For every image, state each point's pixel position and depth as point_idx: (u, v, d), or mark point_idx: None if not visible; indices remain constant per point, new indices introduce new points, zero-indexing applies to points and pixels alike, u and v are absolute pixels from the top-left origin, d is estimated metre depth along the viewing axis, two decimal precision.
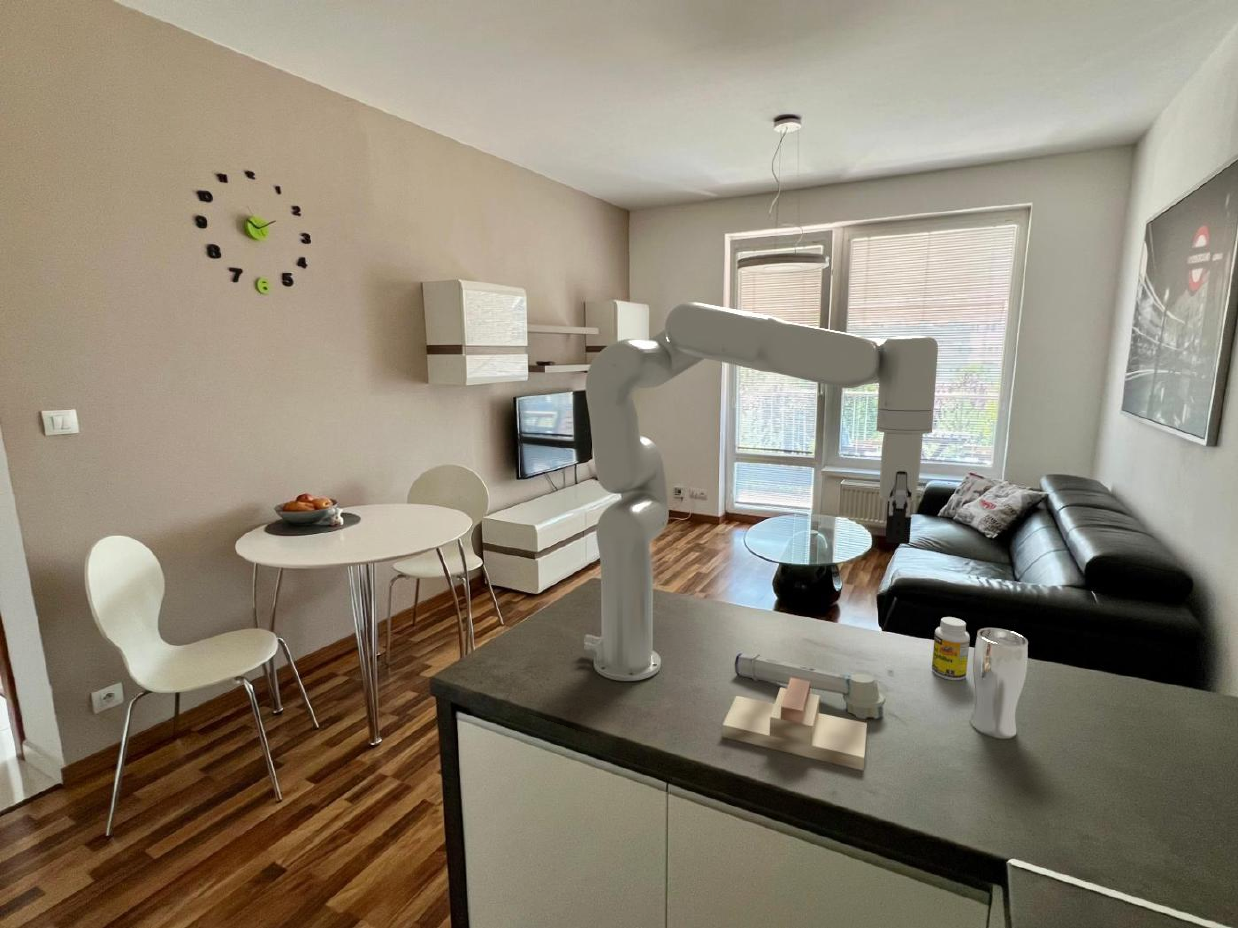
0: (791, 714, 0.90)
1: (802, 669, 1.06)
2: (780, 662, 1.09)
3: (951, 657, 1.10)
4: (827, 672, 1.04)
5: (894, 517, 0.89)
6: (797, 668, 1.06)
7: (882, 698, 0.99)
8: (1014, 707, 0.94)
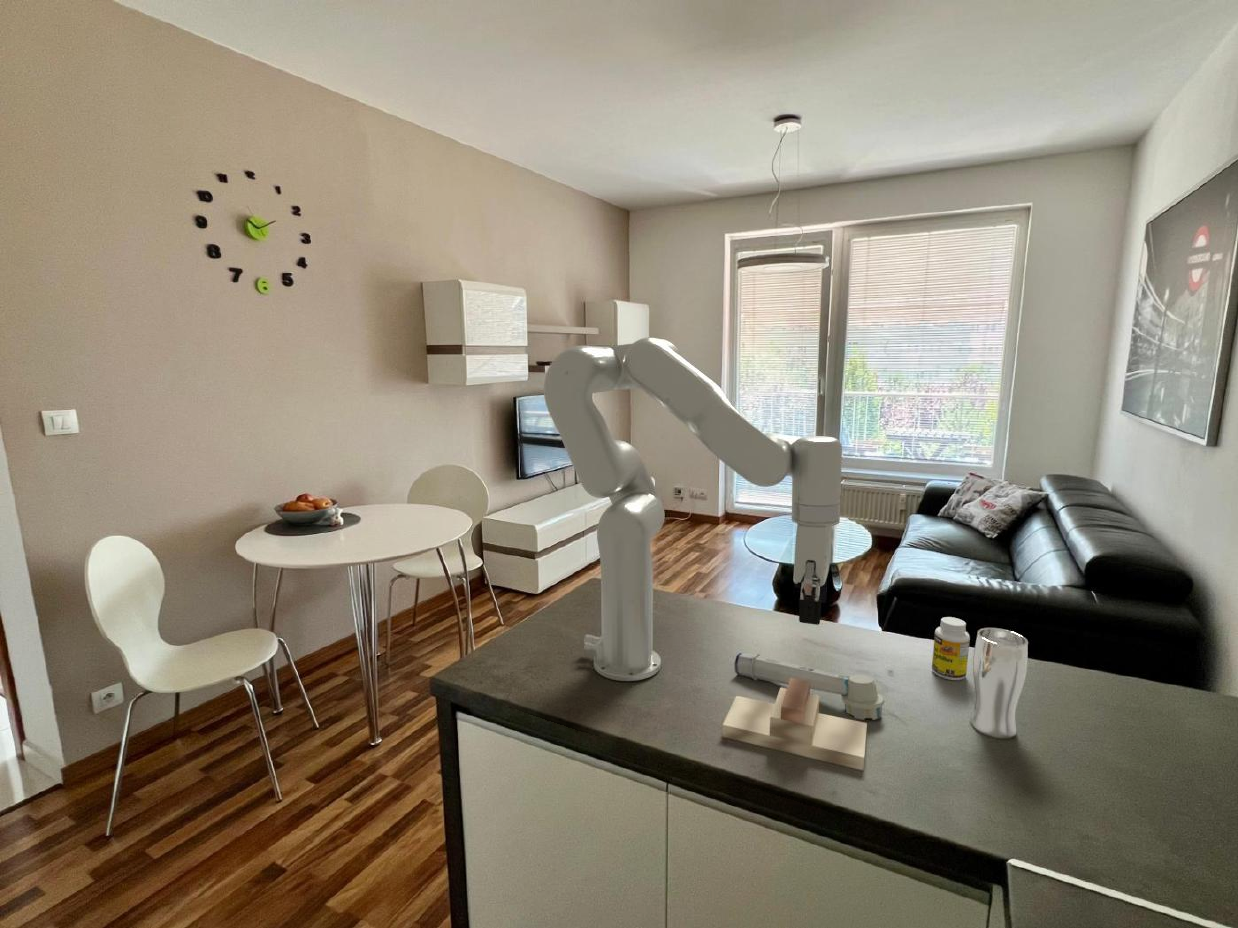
0: (791, 714, 0.90)
1: (801, 669, 1.06)
2: (780, 662, 1.09)
3: (951, 657, 1.10)
4: (826, 672, 1.04)
5: (805, 601, 0.99)
6: (796, 668, 1.06)
7: (881, 699, 0.99)
8: (1014, 707, 0.94)
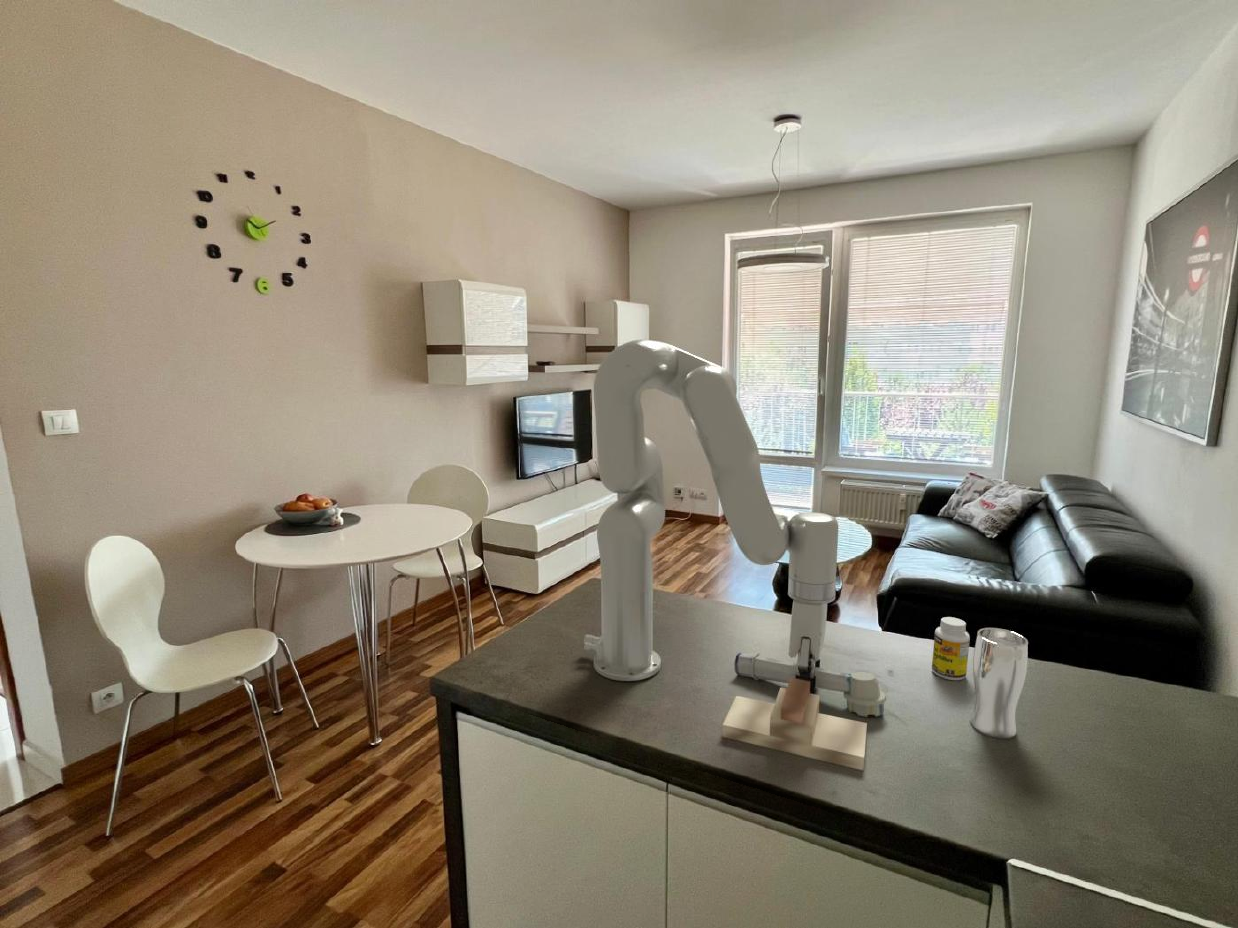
0: (791, 714, 0.90)
1: None
2: (780, 661, 1.09)
3: (951, 657, 1.10)
4: (828, 670, 1.04)
5: (801, 677, 1.02)
6: None
7: (883, 696, 1.00)
8: (1014, 707, 0.94)
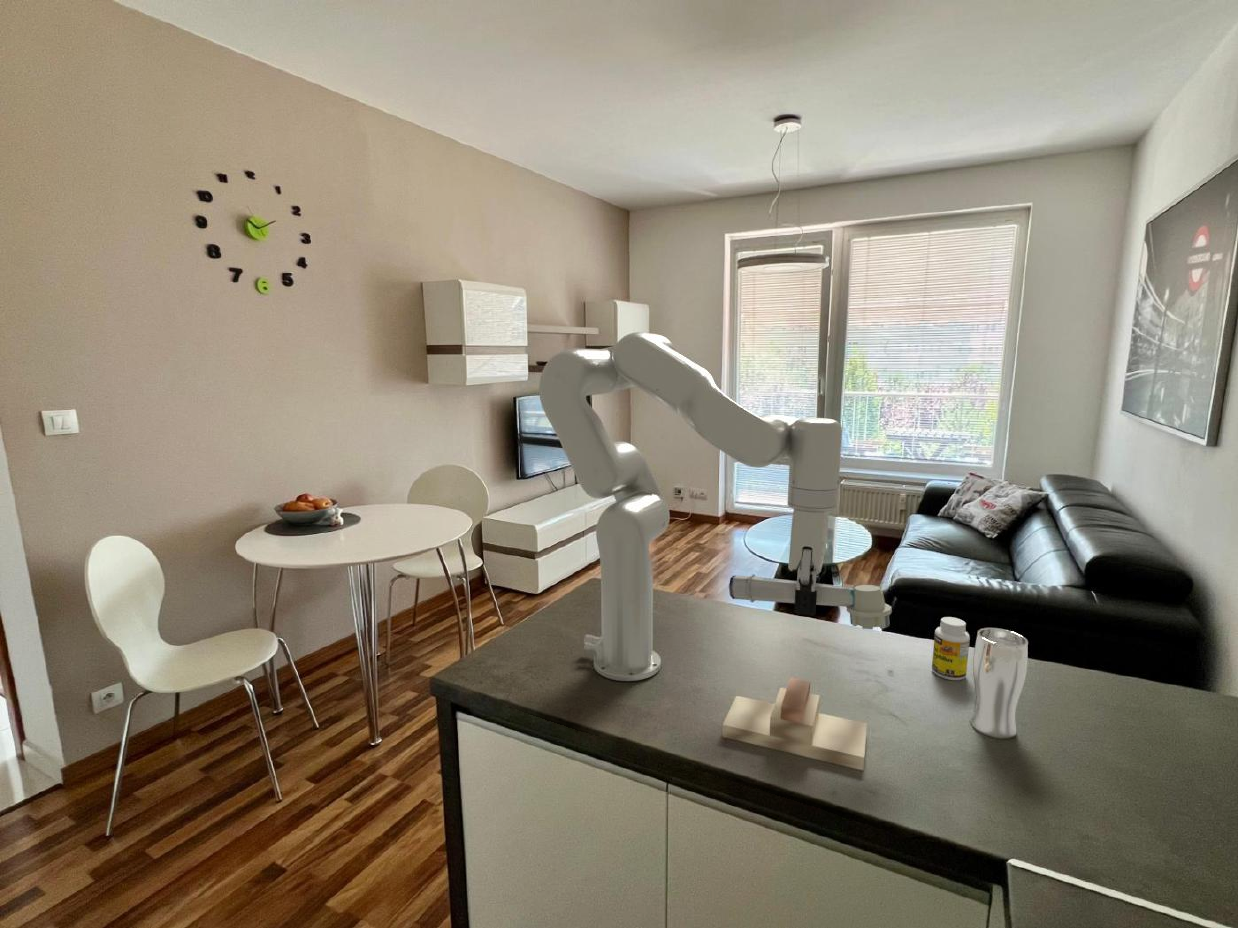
0: (791, 714, 0.90)
1: None
2: (778, 580, 1.03)
3: (951, 657, 1.10)
4: (829, 585, 0.98)
5: (801, 591, 0.96)
6: None
7: (888, 607, 0.94)
8: (1014, 707, 0.94)
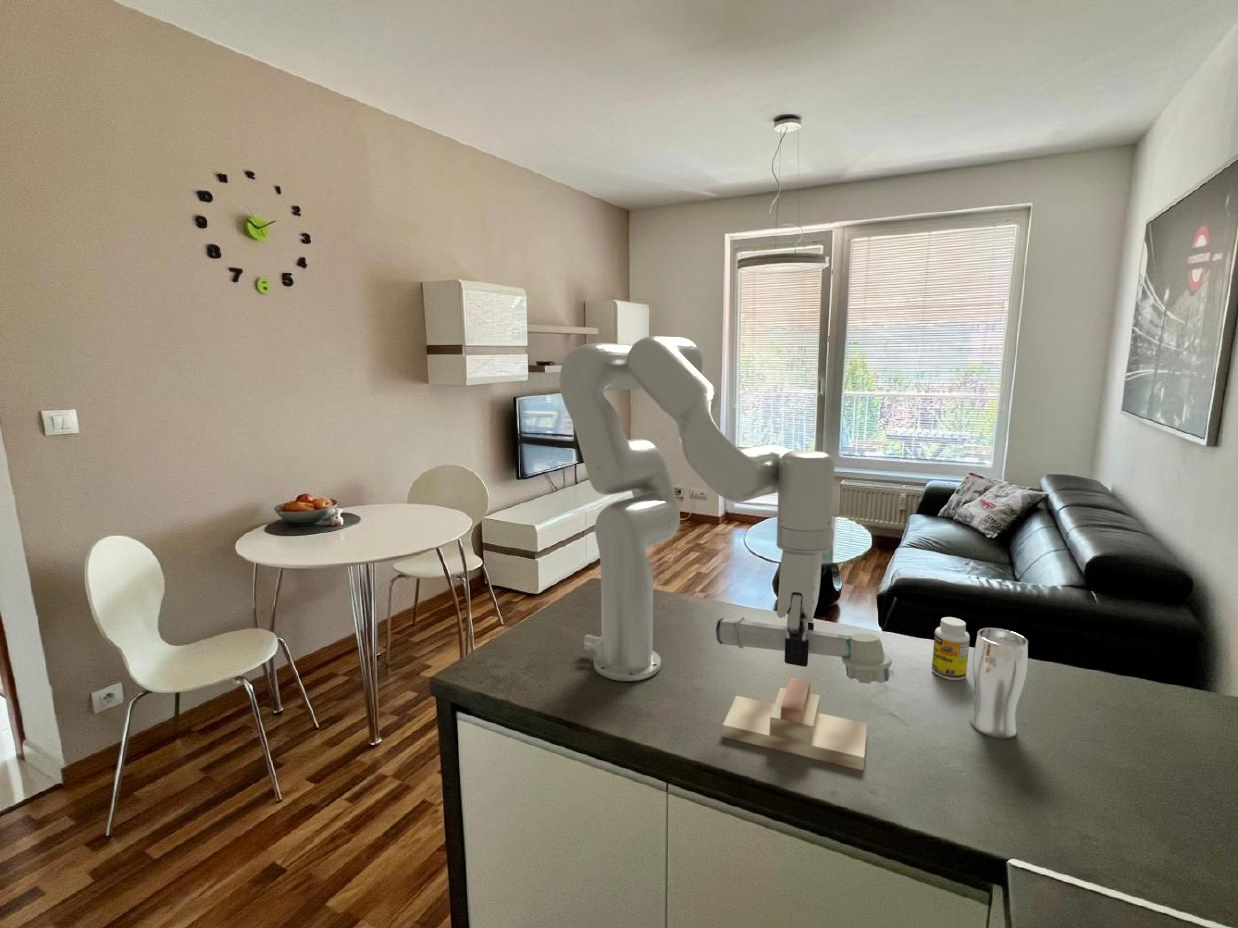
0: (791, 714, 0.90)
1: None
2: (768, 625, 0.94)
3: (951, 657, 1.10)
4: (823, 633, 0.90)
5: (791, 640, 0.88)
6: None
7: (888, 659, 0.86)
8: (1014, 707, 0.94)
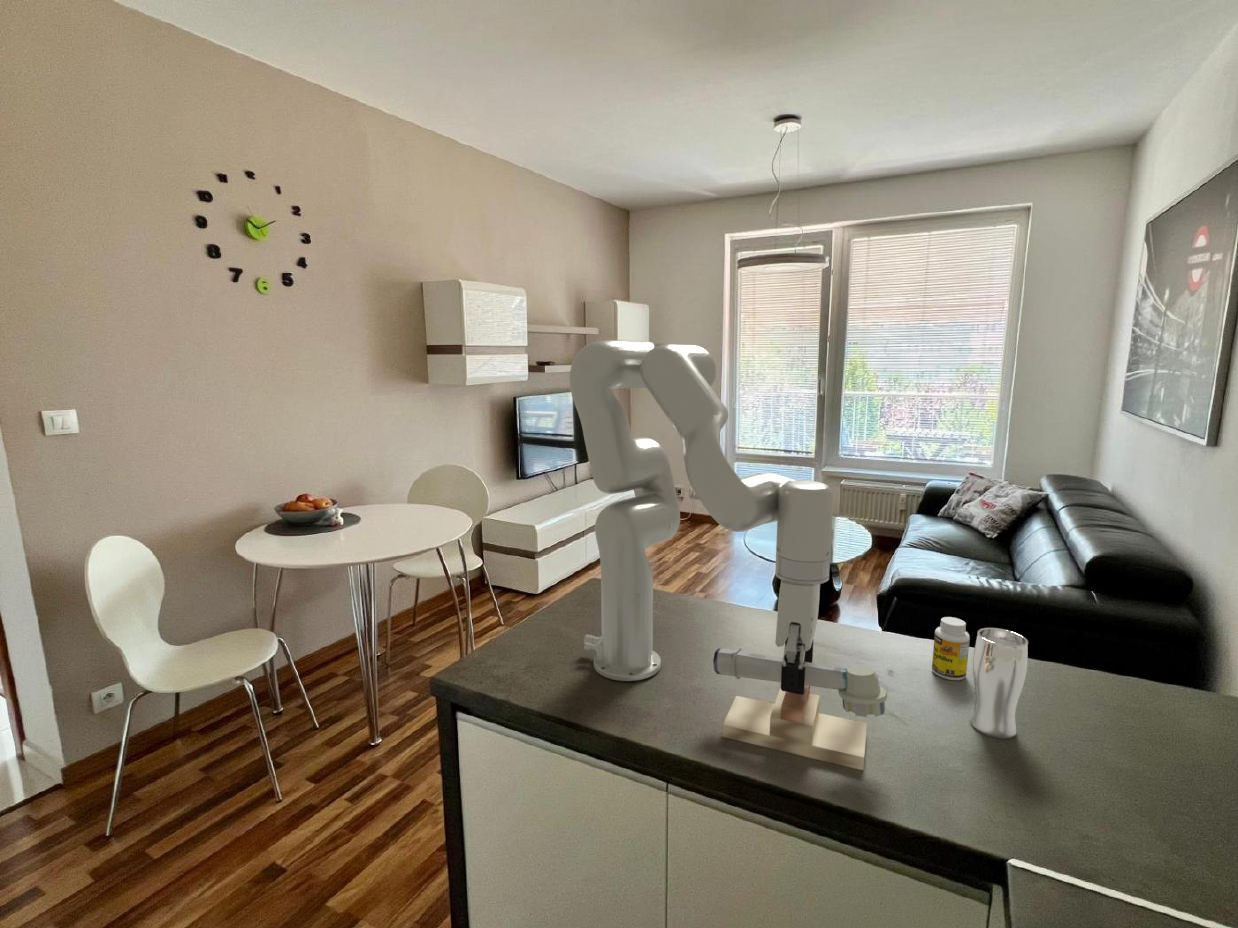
0: (791, 714, 0.90)
1: None
2: (765, 656, 0.96)
3: (951, 657, 1.10)
4: (820, 665, 0.91)
5: (788, 668, 0.87)
6: None
7: (884, 692, 0.87)
8: (1014, 707, 0.94)
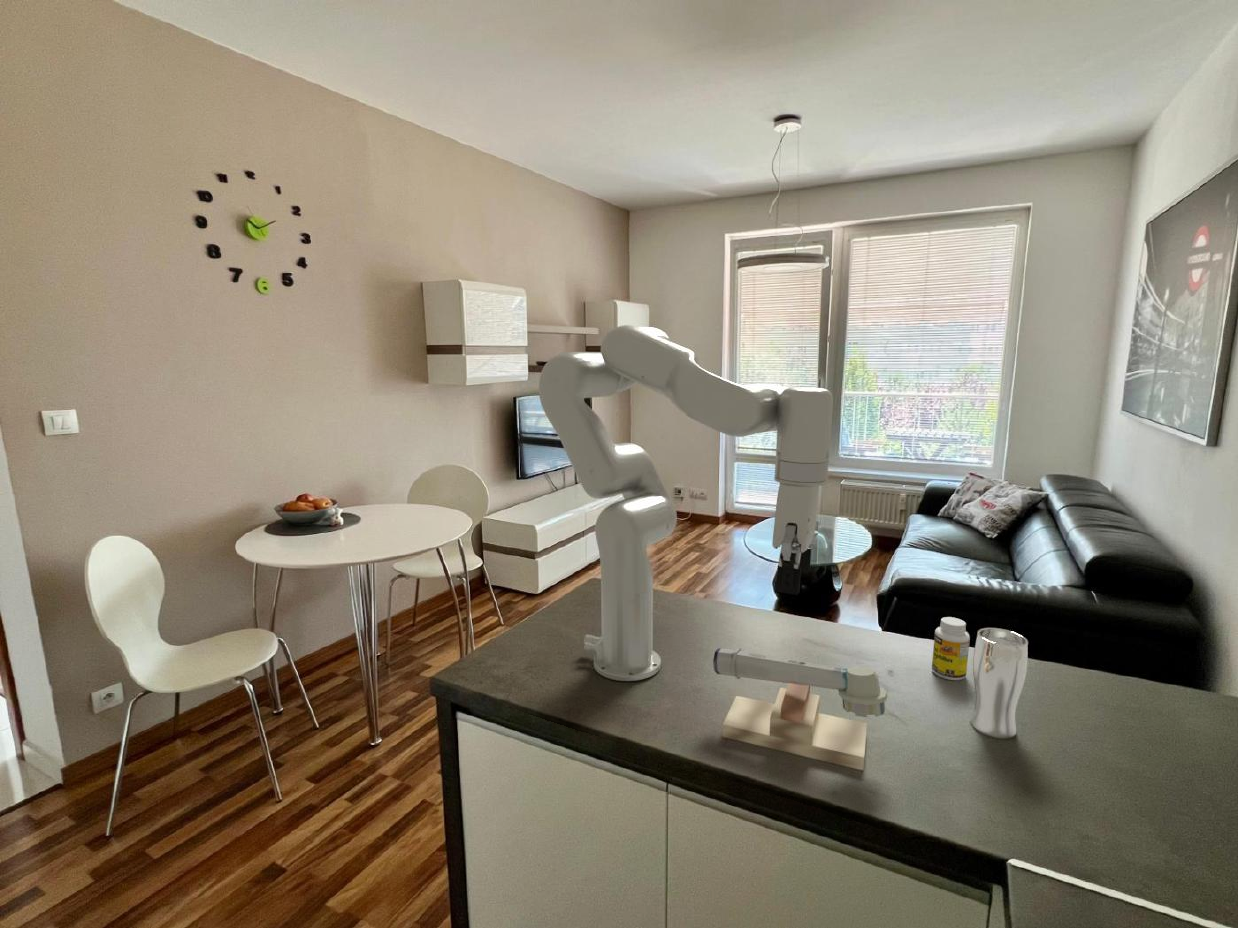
0: (791, 714, 0.90)
1: (791, 663, 0.93)
2: (765, 656, 0.96)
3: (951, 657, 1.10)
4: (820, 665, 0.91)
5: (783, 568, 0.89)
6: (785, 662, 0.93)
7: (884, 692, 0.87)
8: (1014, 707, 0.94)
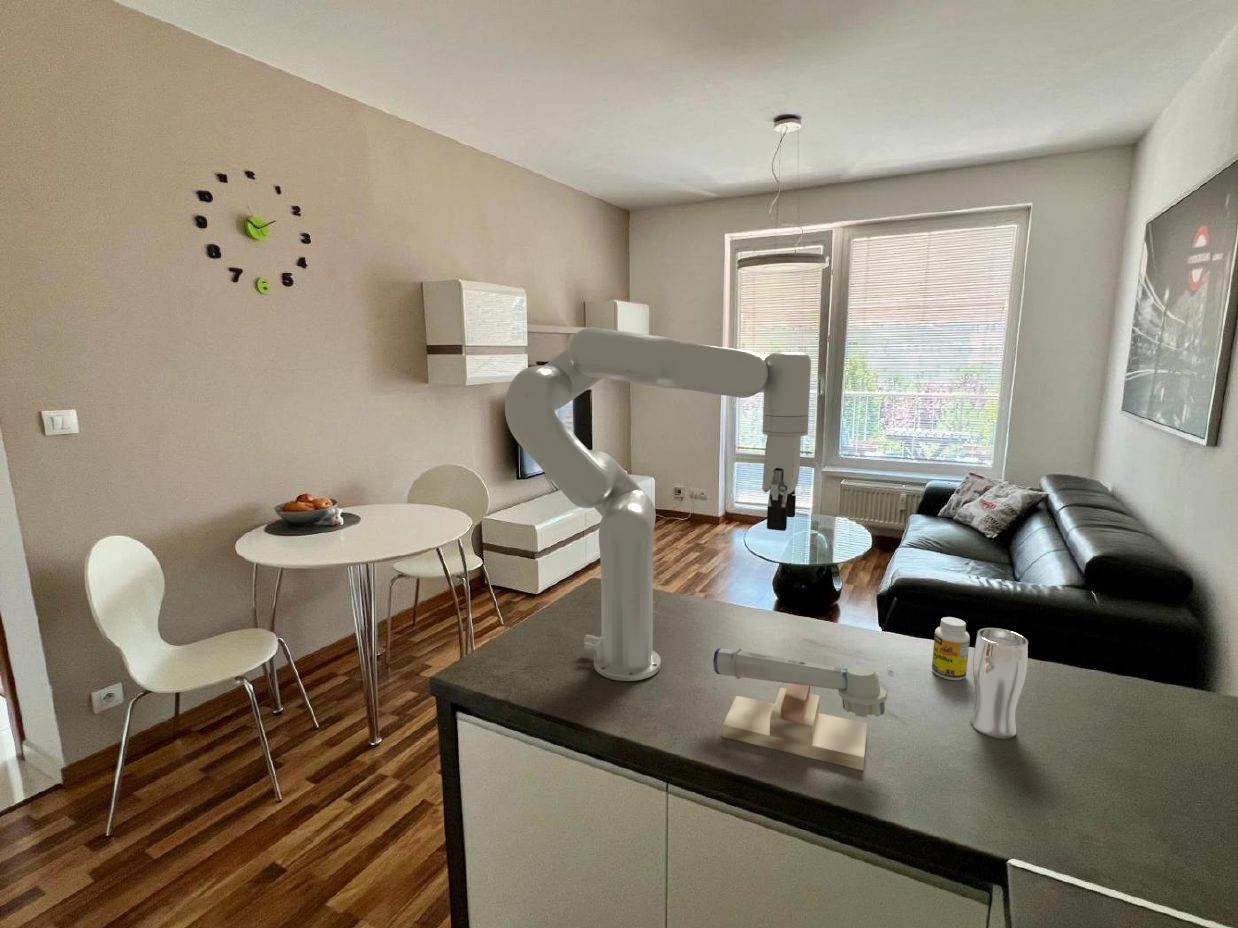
0: (791, 714, 0.90)
1: (791, 663, 0.93)
2: (765, 656, 0.96)
3: (951, 657, 1.10)
4: (820, 665, 0.91)
5: (772, 507, 1.03)
6: (785, 662, 0.93)
7: (884, 692, 0.87)
8: (1014, 707, 0.94)
